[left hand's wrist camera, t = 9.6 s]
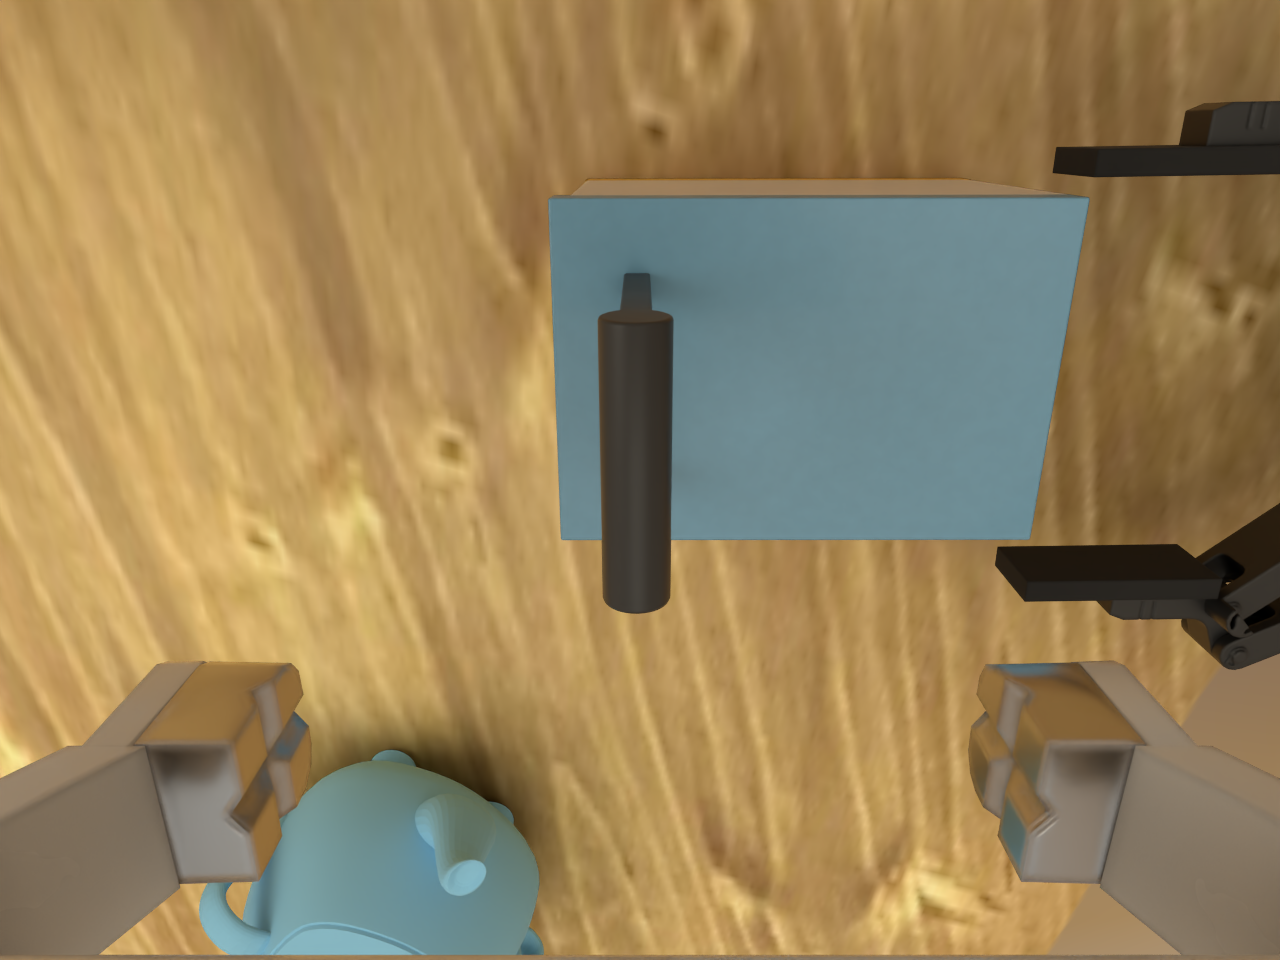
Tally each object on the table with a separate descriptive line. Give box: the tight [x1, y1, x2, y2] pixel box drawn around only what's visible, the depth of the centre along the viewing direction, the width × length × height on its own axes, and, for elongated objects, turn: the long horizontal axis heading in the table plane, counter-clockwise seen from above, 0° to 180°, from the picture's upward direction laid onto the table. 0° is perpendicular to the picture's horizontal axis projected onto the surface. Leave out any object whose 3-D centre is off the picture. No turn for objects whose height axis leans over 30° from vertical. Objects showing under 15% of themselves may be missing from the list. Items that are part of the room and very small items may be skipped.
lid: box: [548, 194, 1090, 614], centre depth 22 cm, size 14×10×9 cm
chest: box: [572, 178, 1062, 195], centre depth 30 cm, size 14×10×9 cm
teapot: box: [199, 750, 544, 955], centre depth 38 cm, size 13×14×11 cm
